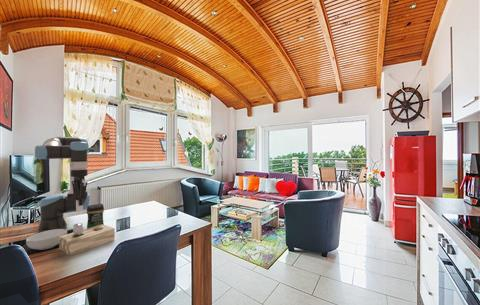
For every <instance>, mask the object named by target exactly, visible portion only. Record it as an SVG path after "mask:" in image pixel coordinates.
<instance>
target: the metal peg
mask: <svg viewBox="0 0 480 305" xmlns="http://www.w3.org/2000/svg"><path fill="white" fill-rule="evenodd" d="M72 229H73V232H72V233H73V237H75V238H76V237H79V236H82V235H83V230H84V229H83V223H81V222H79V223H74V224H73V228H72Z"/></svg>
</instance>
